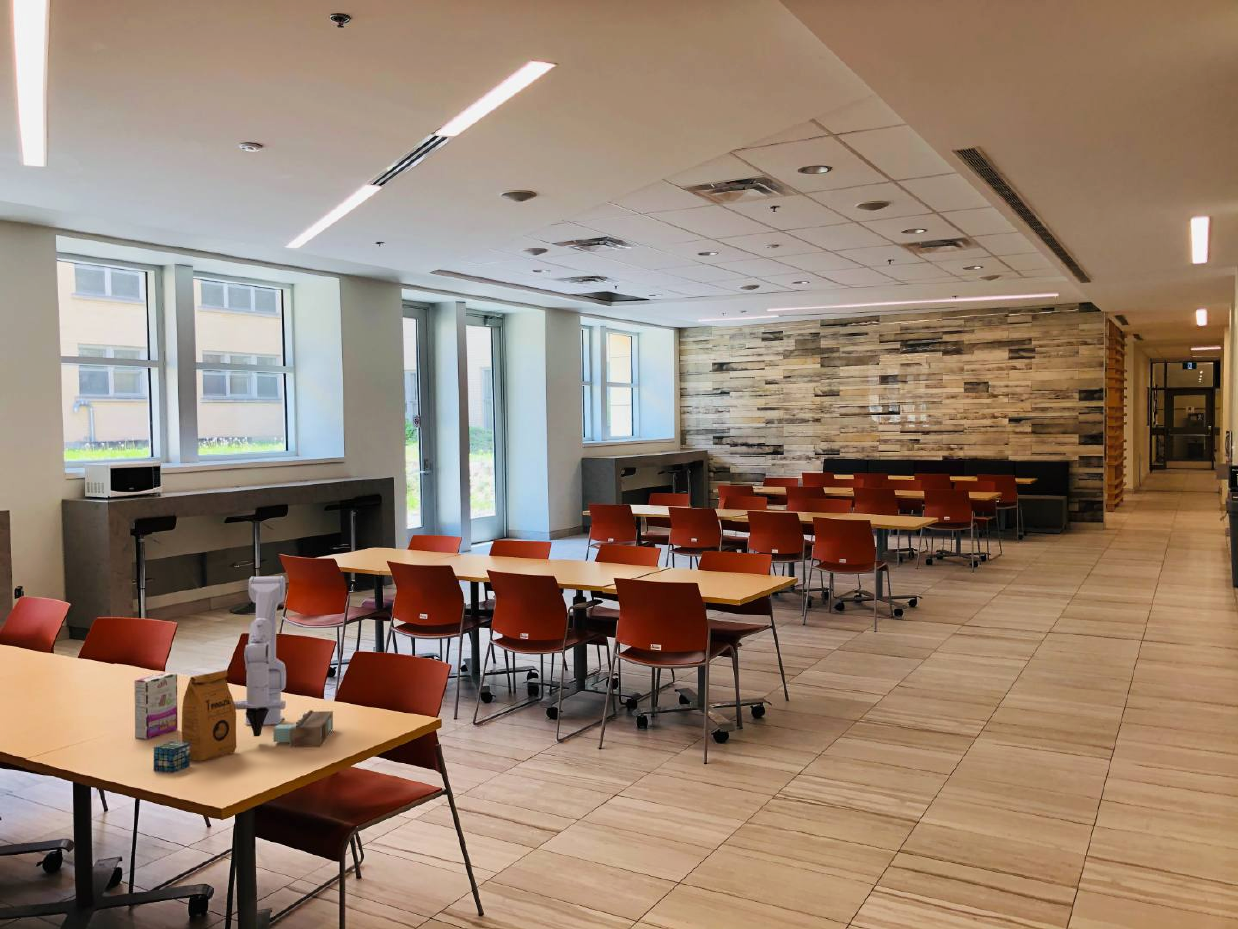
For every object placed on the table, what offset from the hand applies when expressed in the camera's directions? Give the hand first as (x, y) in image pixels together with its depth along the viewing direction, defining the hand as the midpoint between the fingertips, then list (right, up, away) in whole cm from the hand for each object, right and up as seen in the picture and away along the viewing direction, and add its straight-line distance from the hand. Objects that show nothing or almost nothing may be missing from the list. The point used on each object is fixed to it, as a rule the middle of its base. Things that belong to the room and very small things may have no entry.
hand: (257, 735), depth 265 cm
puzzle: (-13, -2, -22) cm, 26 cm away
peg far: (+13, -2, +9) cm, 16 cm away
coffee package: (-8, -2, -12) cm, 15 cm away
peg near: (+9, -2, +1) cm, 9 cm away
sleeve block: (+13, -2, +5) cm, 15 cm away
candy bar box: (-32, -2, +9) cm, 34 cm away
